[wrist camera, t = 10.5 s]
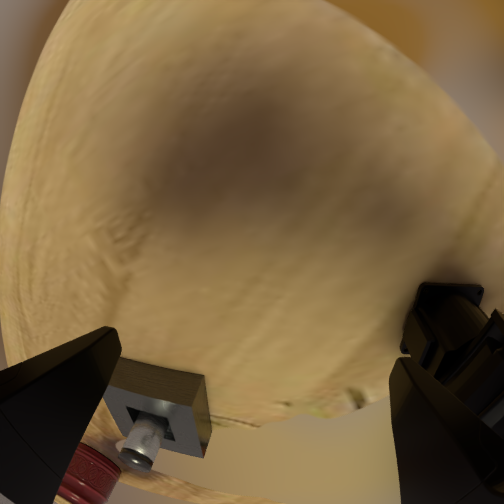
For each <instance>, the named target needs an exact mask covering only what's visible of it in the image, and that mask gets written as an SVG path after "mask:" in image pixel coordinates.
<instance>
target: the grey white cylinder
mask: <svg viewBox="0 0 504 504" xmlns="http://www.w3.org/2000/svg"><path fill="white" fill-rule="evenodd" d="M168 426H169V420H168V418H167V417H163V416H159V415H155V414H152V413H148V412H144V411H140V413H139V415H138V417H137V419H136V421H135V423H134V425H133V427H132V429H131V431H130V433H129V435H128V437H127V439H126V441H125V444H124V445H123V448H122V450H121V452H120V454H119V456H118V458H119V459H120V460H121V461H122V462H123V463H125V464H126V465H128V466H130V467H132V468H134V469H136V470H139V471H142V472H150V470H151V468H152V465H153V463H154V460H155V458H156V455H157V453H158V450H159V448H160V445H161V443H162V440H163V438H164V436H165V433H166V431H167V428H168Z"/></svg>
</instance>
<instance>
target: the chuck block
mask: <svg viewBox="0 0 504 504" xmlns="http://www.w3.org/2000/svg"><path fill="white" fill-rule="evenodd" d="M103 399H104V401H105V403H106V405H107V407H108V409H109V411H110V413H111V415H112V417H113V418H114V420H115V422H116V424H117V426H118V428H119V430H120V431H121V433H122V435H123V436H125V437H128V435H129V433H130V431H131V429H132V427H133V425H134V423H135V421H136V419H137V417H138V415H139V413H140V411H144V412H148V413H152V414H155V415H159V416H163V417H167V418H168V420H169V426H168V428H167V431H166V433H165V436H164V438H163V440H162V443H161V445H160V448H163V449H167V450H171V451H174V452H178V453H182V454H186V455H190V456H195V457H200V458H204V456H205V452H206V449H207V446H208V443H209V440H210V437H211V433H212V428H211V422H210V415H209V408H208V402H207V394H206V387H205V380H204V375H198V374H192V373H187V372H182V371H176V370H171V369H167V368H162V367H157V366H153V365H149V364H144V363H140V362H136V361H132V360H128V359H124V358H120V357H119V360H118V362H117V365H116V367H115V370H114V372H113V375H112V377H111V380H110V382H109V384H108V387H107V389H106V391H105V393H104V395H103Z"/></svg>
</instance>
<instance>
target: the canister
mask: <svg viewBox="0 0 504 504" xmlns="http://www.w3.org/2000/svg"><path fill="white" fill-rule="evenodd" d="M120 474H121V472H120V470H119V468H118V467H117V466H116V465H115V464H114V463H112V462H111V461H110V460H109V459H107V458H106V457H104V456H103V455H102V454H100V453H98V452H97V451H95V450H94V449H92V448H90V447H88V446H86V445H84V444H82V443H79V445H78V447H77V449H76V451H75V454H74V456H73V458H72V460H71V462H70V464H69V467H68V469H67V471H66V473H65V476H64V478H63V479H62V483H61V485H60V487H59V490H58V492H57V494H56V497H55V499H54V501H55V502H56V503H58V504H105V503H107V502H108V499H109V497H110V495H111V493H112V491H113V489H114V486H115V484H116V482H118V480H119V478H120Z"/></svg>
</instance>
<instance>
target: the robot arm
mask: <svg viewBox="0 0 504 504" xmlns="http://www.w3.org/2000/svg"><path fill="white" fill-rule="evenodd" d="M425 288H427V290H426V291H425V292H423V291H424V289H425ZM478 291H479V292H478ZM477 292H478V293H477ZM483 293H484V288H483V287H482V286H481V285H470V284H445V283H423V284H421V285H420V287H419V290H418V293H417V297H416V300H415V304H414V307H413V309H412V310H411V311H410V314H409V318H408V321H407V324H406V327H405V330H404V333H403V336H402V337H403V340H402V343H401V346H400V350H401V353H402V354H410V356H411V357H399V358H397V360H396V362H395V364H394V367H393V369H392V372H391V374H390V377H389V391H390V406H391V423H392V430H393V437H394V443H395V450H396V457H397V466H398V474H399V482H400V495H401V504H504V314H502V313H501V312H500V311H498V310H497V309H495V310H494V311H493V312H492V314H491V317H490V319H489V318H488V317H487V315H486V314H485V313H484V312H483V311H482V309H481V308H480V307H479V305H480V302H481V299H482V296H483ZM406 347H407V348H406ZM405 348H406V349H405ZM121 351H122V347H121V343H120V340H119V336H118V333H117V330H116V329H115V328H113V327H108V326H104V327H101V328H99V329H97V330H94V331H92V332H90V333H88V334H85V335H83V336H81V337H78V338H76V339H74V340H72V341H69V342H67V343H65V344H62V345H60V346H58V347H55V348H53V349H51V350H49V351H46V352H44V353H42V354H39V355H37V356H35V357H32V358H30V359H28V360H25V361H23V362H21V363H18V364H16V365H14V366H11V367H9V368H6V369H4V370H2V371H0V504H53V502H54V499H55V497H56V494H57V492H58V490H59V487H60V485H61V483H62V479H63V478H64V476H65V473H66V471H67V469H68V467H69V464H70V462H71V460H72V458H73V456H74V454H75V451H76V449H77V447H78V445H79V443H80V441H81V439H82V437H83V435H84V433H85V431H86V428H87V426H88V424H89V422H90V420H91V418H92V416H93V414H94V412H95V410H96V409H97V407H98V405H99V403H100V401H101V399H102V397H103V395H104V393H105V391H106V389H107V387H108V384H109V382H110V380H111V377H112V375H113V372H114V370H115V367H116V365H117V362H118V360H119V357H120V355H121Z"/></svg>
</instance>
